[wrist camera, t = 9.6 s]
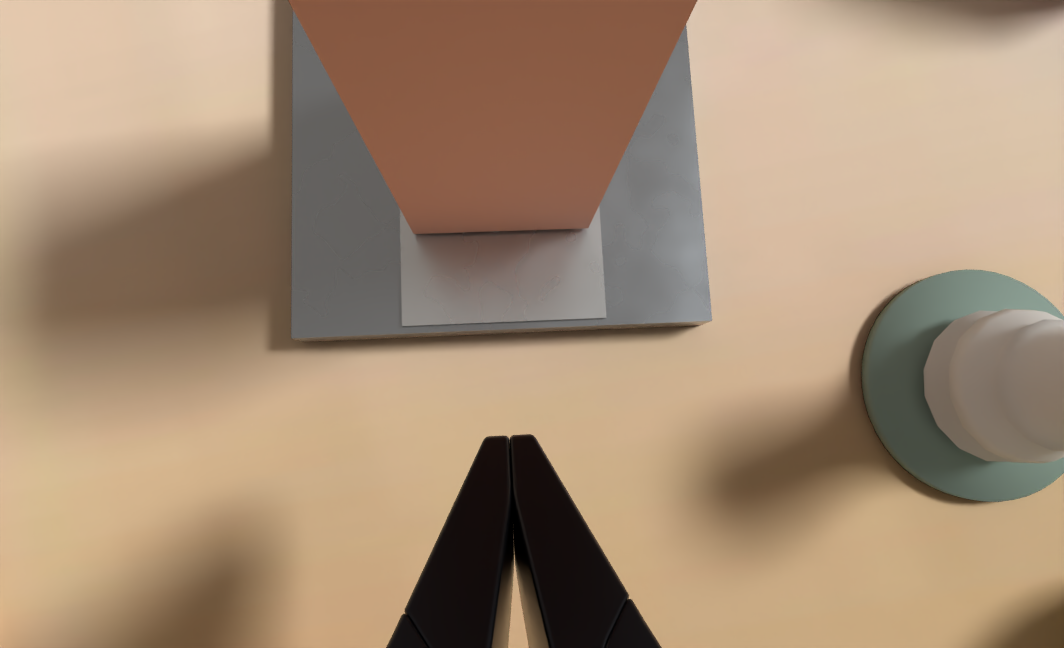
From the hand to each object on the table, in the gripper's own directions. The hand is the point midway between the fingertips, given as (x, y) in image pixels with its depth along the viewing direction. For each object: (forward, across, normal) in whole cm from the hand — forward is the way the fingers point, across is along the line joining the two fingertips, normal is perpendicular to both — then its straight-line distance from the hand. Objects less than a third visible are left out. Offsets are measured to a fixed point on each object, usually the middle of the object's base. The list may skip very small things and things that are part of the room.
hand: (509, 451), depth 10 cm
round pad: (+6, -14, +5) cm, 16 cm away
